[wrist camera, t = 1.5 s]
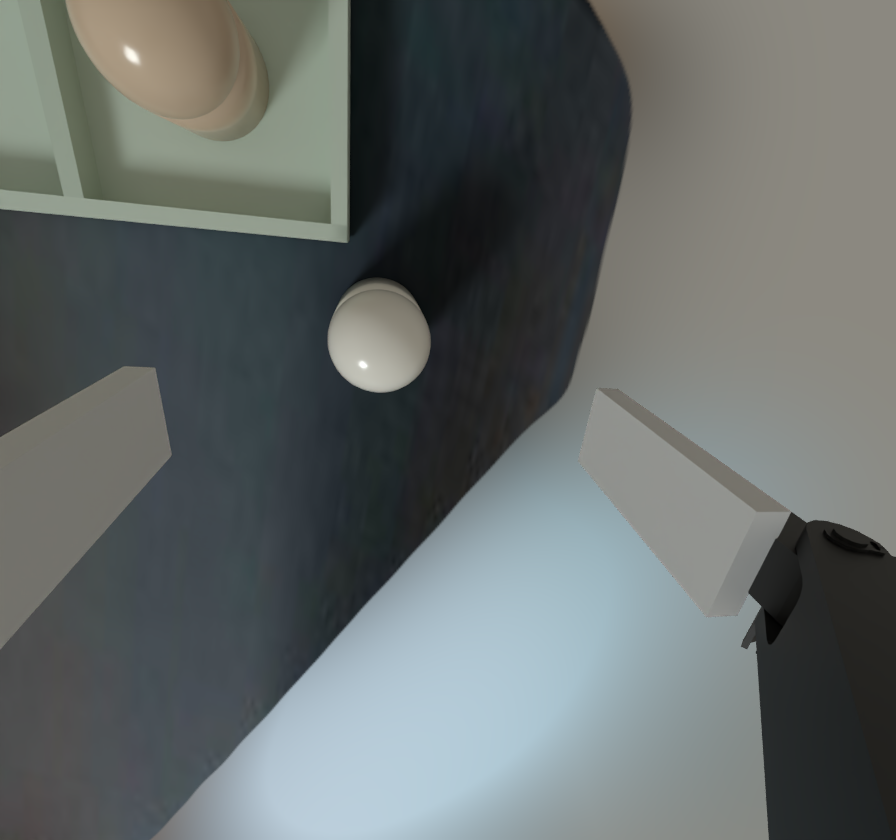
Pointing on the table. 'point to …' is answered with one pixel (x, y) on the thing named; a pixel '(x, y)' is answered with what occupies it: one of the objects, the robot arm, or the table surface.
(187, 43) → the egg brown
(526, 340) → the table surface
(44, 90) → the green divided tray
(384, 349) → the egg white
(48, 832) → the table surface
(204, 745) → the table surface
